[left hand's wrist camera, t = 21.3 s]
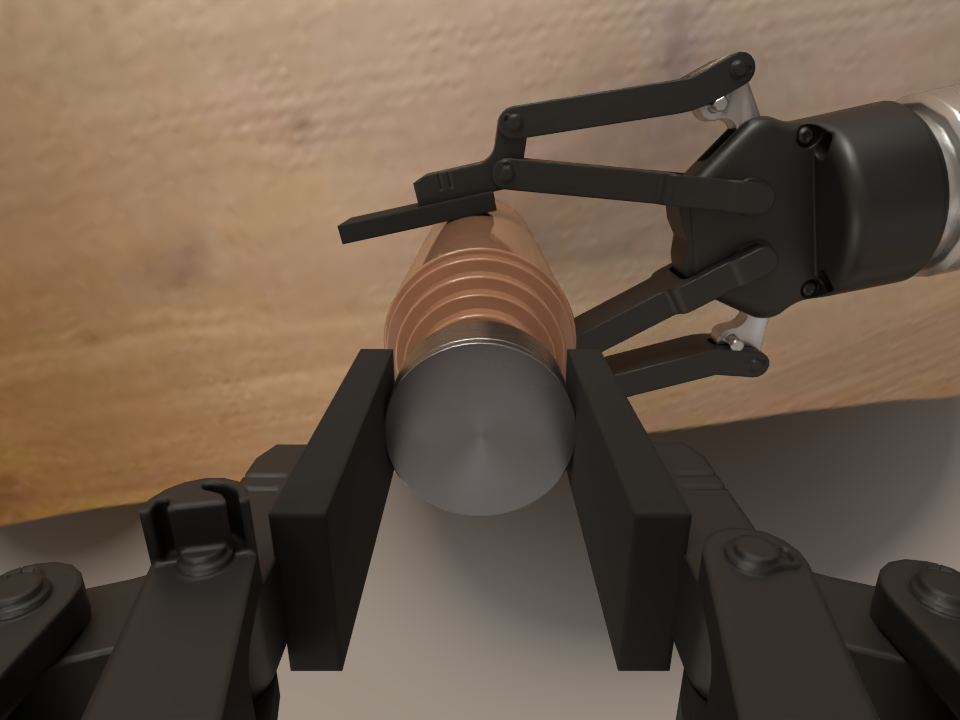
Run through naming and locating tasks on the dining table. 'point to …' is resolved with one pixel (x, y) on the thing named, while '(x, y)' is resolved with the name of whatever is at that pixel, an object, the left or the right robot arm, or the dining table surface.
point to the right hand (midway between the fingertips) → (368, 303)
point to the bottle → (480, 285)
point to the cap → (480, 419)
